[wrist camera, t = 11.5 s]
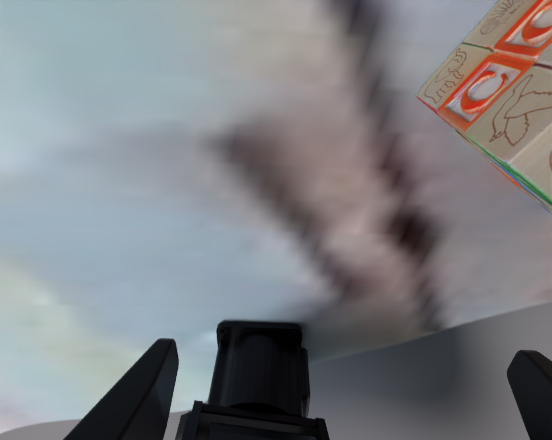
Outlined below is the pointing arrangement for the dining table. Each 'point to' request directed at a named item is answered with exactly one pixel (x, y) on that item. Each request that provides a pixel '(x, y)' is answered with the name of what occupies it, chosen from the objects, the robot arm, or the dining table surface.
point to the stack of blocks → (503, 93)
